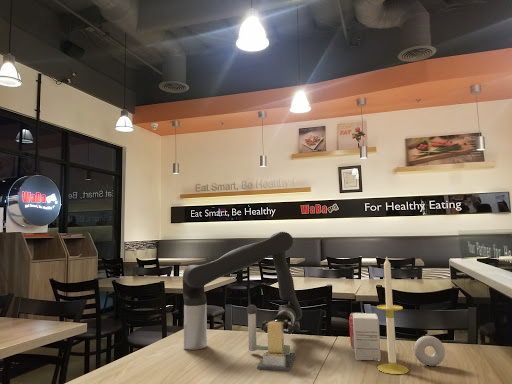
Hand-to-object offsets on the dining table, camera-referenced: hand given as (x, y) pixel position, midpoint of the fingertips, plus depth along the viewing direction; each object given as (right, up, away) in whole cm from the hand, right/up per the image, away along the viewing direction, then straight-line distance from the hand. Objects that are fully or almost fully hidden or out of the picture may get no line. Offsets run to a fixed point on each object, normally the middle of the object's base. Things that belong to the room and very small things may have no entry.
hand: (277, 330), depth 144 cm
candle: (+38, -9, -13) cm, 41 cm away
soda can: (+33, -11, +12) cm, 37 cm away
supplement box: (+33, -10, 0) cm, 34 cm away
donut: (+51, -9, -10) cm, 53 cm away
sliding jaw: (-3, -10, +5) cm, 12 cm away
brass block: (-1, -9, -5) cm, 10 cm away
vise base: (0, -10, -3) cm, 11 cm away
